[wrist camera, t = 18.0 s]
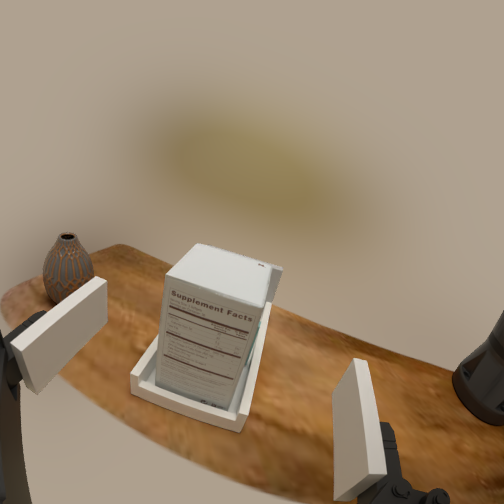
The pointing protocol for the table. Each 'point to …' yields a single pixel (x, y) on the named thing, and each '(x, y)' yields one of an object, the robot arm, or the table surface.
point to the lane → (231, 420)
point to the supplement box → (209, 323)
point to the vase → (66, 267)
